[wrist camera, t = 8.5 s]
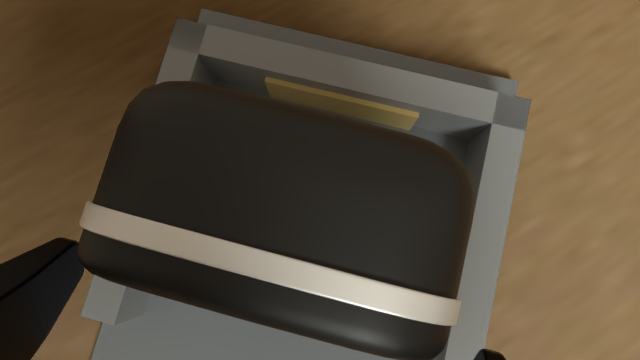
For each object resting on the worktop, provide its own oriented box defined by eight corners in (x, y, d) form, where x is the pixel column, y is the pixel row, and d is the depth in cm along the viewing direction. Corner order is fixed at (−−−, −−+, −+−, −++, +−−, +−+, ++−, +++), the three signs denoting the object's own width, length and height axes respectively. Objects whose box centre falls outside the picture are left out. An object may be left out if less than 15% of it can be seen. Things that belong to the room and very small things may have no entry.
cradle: (436, 474, 17) (461, 524, 14) (91, 378, 18) (42, 405, 15) (512, 86, 19) (548, 55, 16) (205, 15, 20) (183, -28, 17)
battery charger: (403, 204, 18) (535, 130, 7) (381, 297, 17) (484, 393, 6) (238, 161, 18) (94, 23, 7) (211, 252, 18) (8, 262, 6)
